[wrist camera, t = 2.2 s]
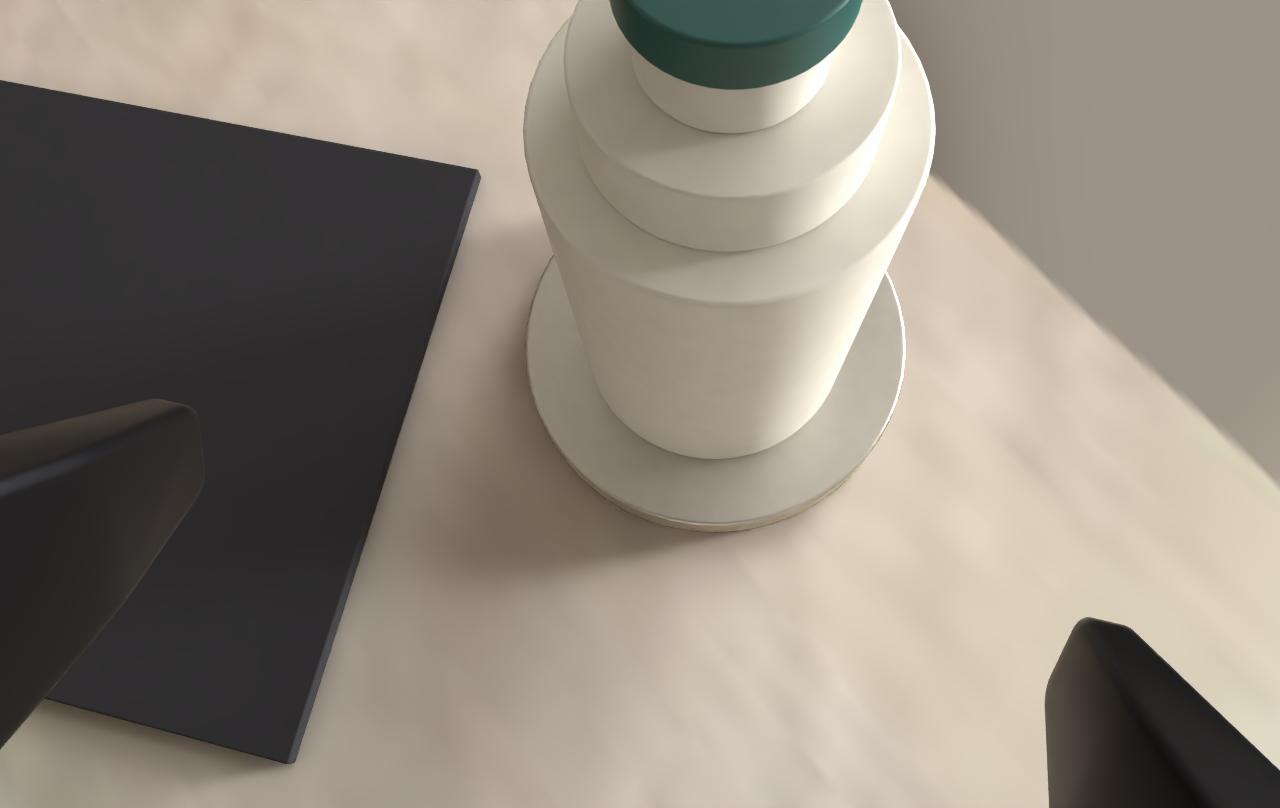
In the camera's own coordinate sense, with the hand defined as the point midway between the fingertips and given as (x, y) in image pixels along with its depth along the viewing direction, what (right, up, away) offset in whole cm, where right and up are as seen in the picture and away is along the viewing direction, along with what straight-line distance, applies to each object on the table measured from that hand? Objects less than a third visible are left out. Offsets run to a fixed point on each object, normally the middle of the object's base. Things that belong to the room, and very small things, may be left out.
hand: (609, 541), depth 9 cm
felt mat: (-15, +2, +15) cm, 21 cm away
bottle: (+2, +3, +13) cm, 13 cm away
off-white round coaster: (+2, +3, +14) cm, 14 cm away
